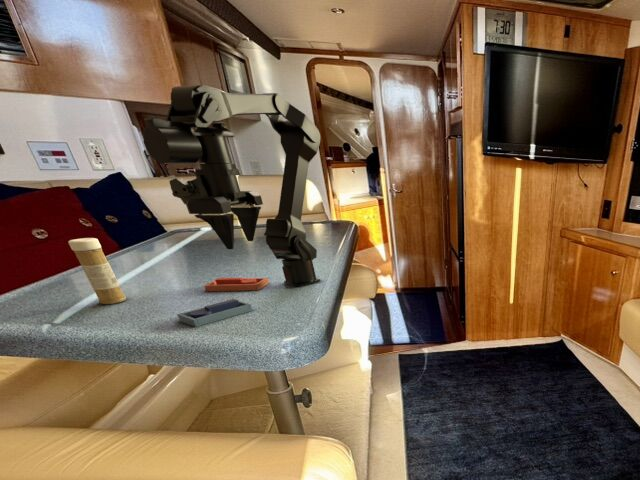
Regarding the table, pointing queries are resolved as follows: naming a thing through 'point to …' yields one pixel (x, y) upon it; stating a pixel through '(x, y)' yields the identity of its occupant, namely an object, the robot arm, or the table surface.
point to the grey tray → (214, 315)
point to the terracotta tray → (237, 285)
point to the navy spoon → (215, 308)
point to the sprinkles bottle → (97, 270)
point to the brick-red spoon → (234, 281)
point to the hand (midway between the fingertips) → (241, 245)
